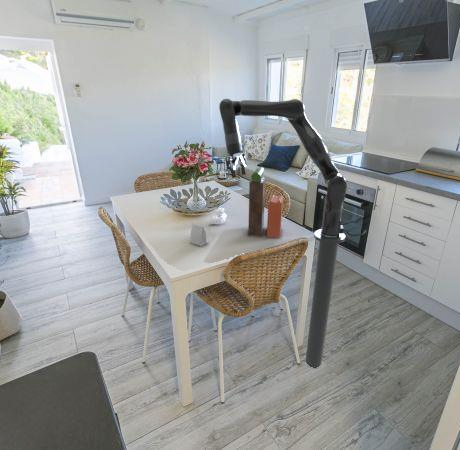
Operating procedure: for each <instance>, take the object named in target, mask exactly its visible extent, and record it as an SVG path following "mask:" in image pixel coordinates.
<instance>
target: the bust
mask: <svg viewBox="0 0 460 450" xmlns="http://www.w3.org/2000/svg"><path fill="white" fill-rule="evenodd" d="M215 213H216V214H215V215H213V216H211V218H210V219H209V224H210V225H215V226H221V225H223V224H225V222H226V219H227V217H228V216H227V213H225V208H224V207H219V208H218V209H215Z"/></svg>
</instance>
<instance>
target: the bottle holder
mask: <svg viewBox="0 0 460 450" xmlns="http://www.w3.org/2000/svg"><path fill="white" fill-rule="evenodd" d="M267 202H268V203H267V221H266V223H267V224H266V237H267V238H276V239H277V238H278V239H280V238H281V231H282V218H283V204H284V196H282V195H274V194H271V195H270V196H269V199H268V201H267Z"/></svg>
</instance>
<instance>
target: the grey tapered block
mask: <svg viewBox="0 0 460 450" xmlns="http://www.w3.org/2000/svg"><path fill="white" fill-rule="evenodd" d="M190 241H191V244H193V245H196V246H199V247H203V246H205V245H206V244H207V232H206V229H205V227H204V226H202V225H200V224H199V225H198V224H196V223H192V226H191V230H190Z"/></svg>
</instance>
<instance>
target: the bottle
mask: <svg viewBox="0 0 460 450" xmlns="http://www.w3.org/2000/svg"><path fill="white" fill-rule="evenodd" d="M264 170H265V169H264V167H263V166H260V167H258V168H256V169H255V170H254V171H253V173H251V176H250V178H251V179H252V181H254V182H258V181H260V179H261V178H262V176H263V177H264ZM251 179H250V180H251Z"/></svg>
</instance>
